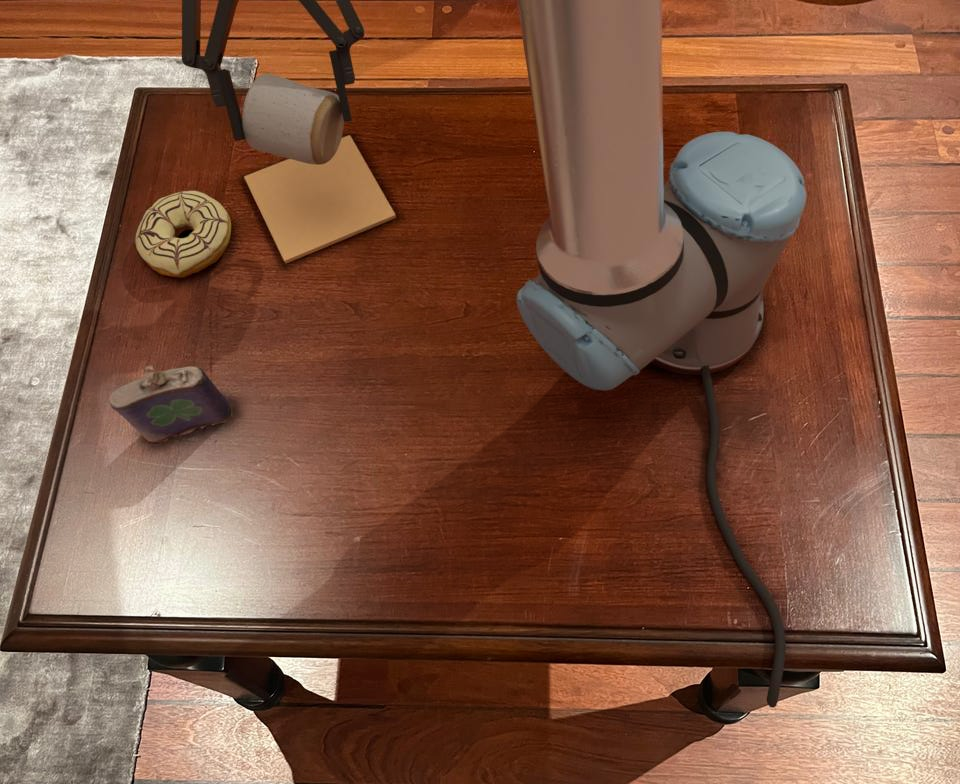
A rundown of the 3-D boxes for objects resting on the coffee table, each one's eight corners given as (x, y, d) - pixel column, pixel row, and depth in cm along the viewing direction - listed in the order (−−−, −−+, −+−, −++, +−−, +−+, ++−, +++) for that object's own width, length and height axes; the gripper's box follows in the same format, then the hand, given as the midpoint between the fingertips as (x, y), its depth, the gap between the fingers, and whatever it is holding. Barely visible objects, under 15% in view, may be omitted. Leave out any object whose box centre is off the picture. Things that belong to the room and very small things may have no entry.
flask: (147, 447, 82) (100, 403, 73) (143, 422, 84) (96, 376, 74) (235, 420, 83) (200, 373, 74) (230, 396, 85) (194, 347, 75)
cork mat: (396, 218, 94) (395, 214, 94) (285, 264, 92) (284, 261, 91) (350, 138, 100) (349, 134, 99) (245, 179, 97) (243, 176, 97)
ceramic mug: (325, 183, 82) (309, 127, 75) (253, 165, 83) (231, 109, 76) (364, 109, 86) (352, 51, 79) (295, 93, 87) (277, 34, 80)
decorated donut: (125, 252, 93) (110, 232, 90) (191, 193, 97) (180, 172, 93) (187, 297, 90) (174, 278, 87) (253, 234, 94) (243, 214, 90)
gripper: (359, -132, 76) (405, 111, 84) (121, -95, 75) (189, 149, 82) (358, -158, 69) (408, 110, 77) (95, -117, 68) (172, 152, 75)
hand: (294, 130), depth 80 cm, fingers closed on ceramic mug, 10 cm apart
